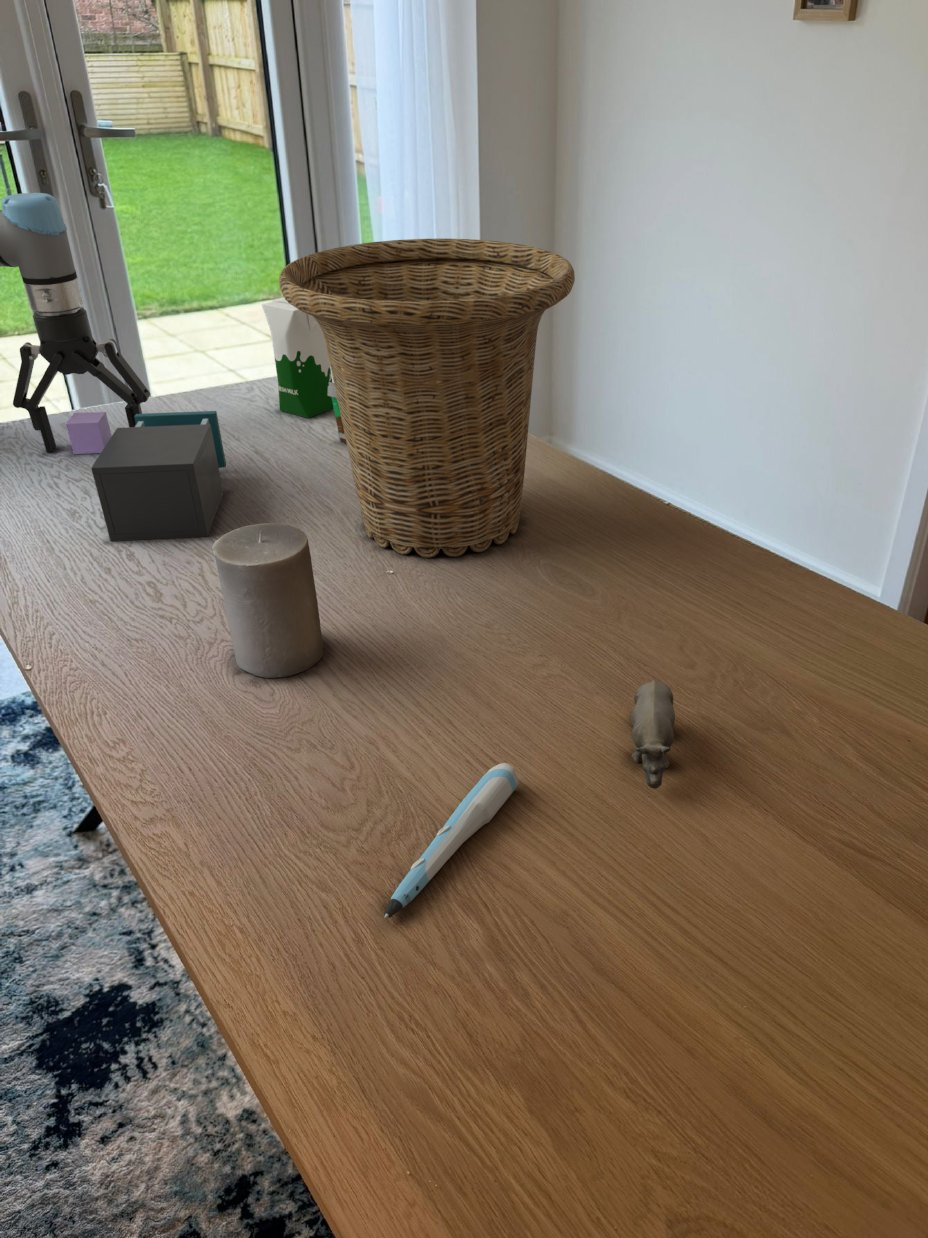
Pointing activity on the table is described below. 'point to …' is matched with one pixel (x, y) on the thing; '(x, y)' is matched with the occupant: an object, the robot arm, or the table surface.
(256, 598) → the pillar candle
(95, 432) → the purple cube
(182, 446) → the dark gray box
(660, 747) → the rhino figurine
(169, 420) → the tray
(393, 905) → the pen
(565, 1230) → the table surface
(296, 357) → the milk carton
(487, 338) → the wicker basket
